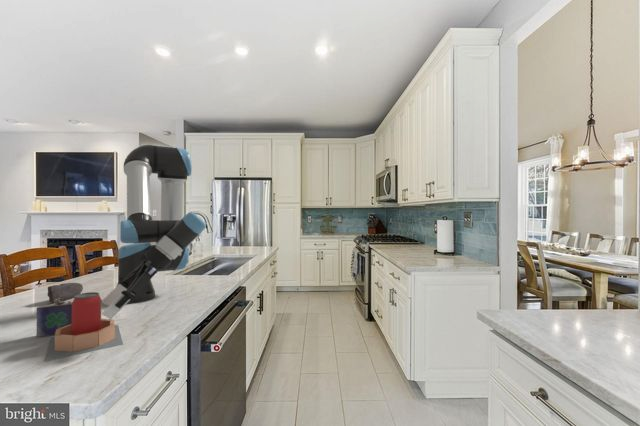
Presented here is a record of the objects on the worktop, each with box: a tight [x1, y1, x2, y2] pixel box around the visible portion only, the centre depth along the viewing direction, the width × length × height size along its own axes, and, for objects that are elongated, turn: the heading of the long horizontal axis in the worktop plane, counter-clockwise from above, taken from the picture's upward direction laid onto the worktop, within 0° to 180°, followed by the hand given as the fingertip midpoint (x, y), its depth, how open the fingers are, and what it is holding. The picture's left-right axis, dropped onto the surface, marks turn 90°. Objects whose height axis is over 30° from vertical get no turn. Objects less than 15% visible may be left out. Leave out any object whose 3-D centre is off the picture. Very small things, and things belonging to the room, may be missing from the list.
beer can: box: [71, 291, 102, 335], centre depth 85 cm, size 7×7×12 cm
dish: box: [54, 318, 116, 352], centre depth 85 cm, size 13×13×4 cm
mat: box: [43, 324, 124, 363], centre depth 85 cm, size 18×16×1 cm
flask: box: [35, 298, 73, 338], centre depth 90 cm, size 9×3×11 cm, turn 121°
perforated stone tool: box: [47, 282, 84, 303], centre depth 126 cm, size 15×5×7 cm, turn 170°
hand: (105, 309), depth 87 cm, fingers open, 13 cm apart
